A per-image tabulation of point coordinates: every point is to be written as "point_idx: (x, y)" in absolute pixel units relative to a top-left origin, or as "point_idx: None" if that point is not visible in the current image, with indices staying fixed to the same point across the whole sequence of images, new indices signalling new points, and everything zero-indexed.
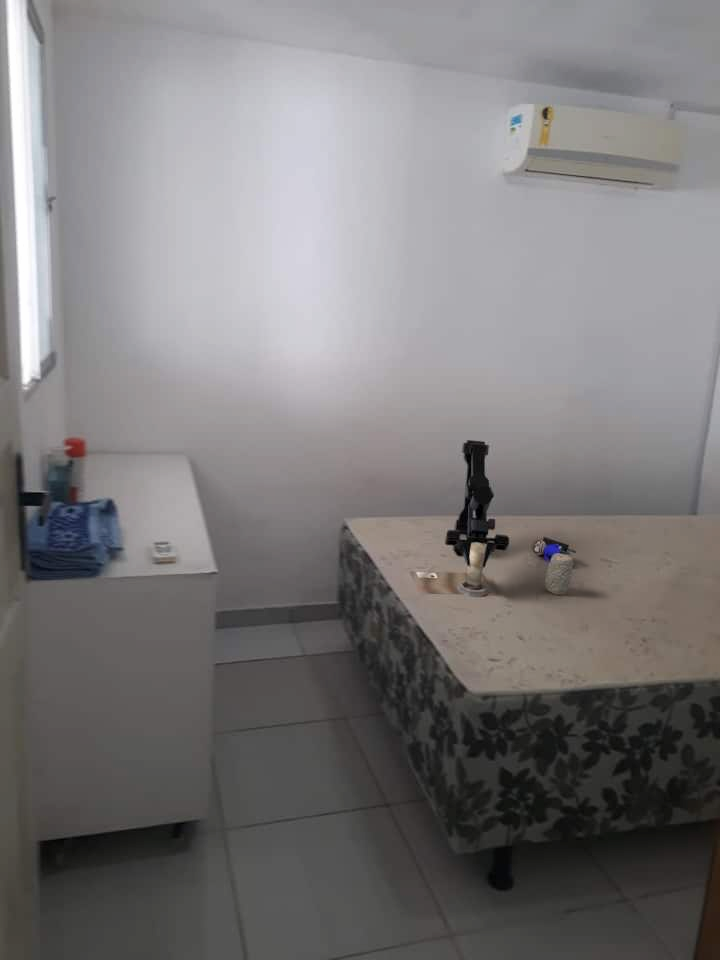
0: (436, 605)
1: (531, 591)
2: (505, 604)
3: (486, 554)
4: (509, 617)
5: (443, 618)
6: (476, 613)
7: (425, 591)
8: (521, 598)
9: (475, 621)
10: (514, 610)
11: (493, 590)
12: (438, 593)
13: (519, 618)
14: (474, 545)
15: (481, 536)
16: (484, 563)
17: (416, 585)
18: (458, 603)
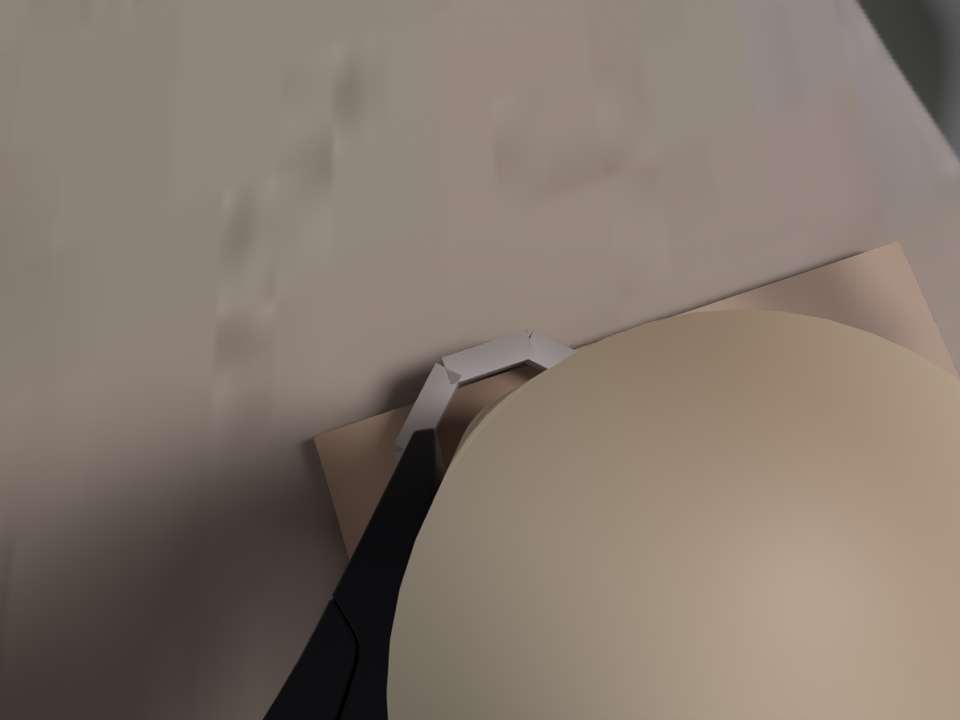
0: (734, 168)
1: (31, 699)
2: (261, 360)
3: (384, 614)
4: (240, 163)
5: (662, 6)
6: (462, 145)
7: (863, 289)
8: (130, 518)
9: (462, 33)
10: (199, 284)
11: (345, 518)
12: (765, 290)
13: (171, 172)
14: (944, 559)
15: None
16: (425, 455)
17: (952, 372)
18: (594, 252)
